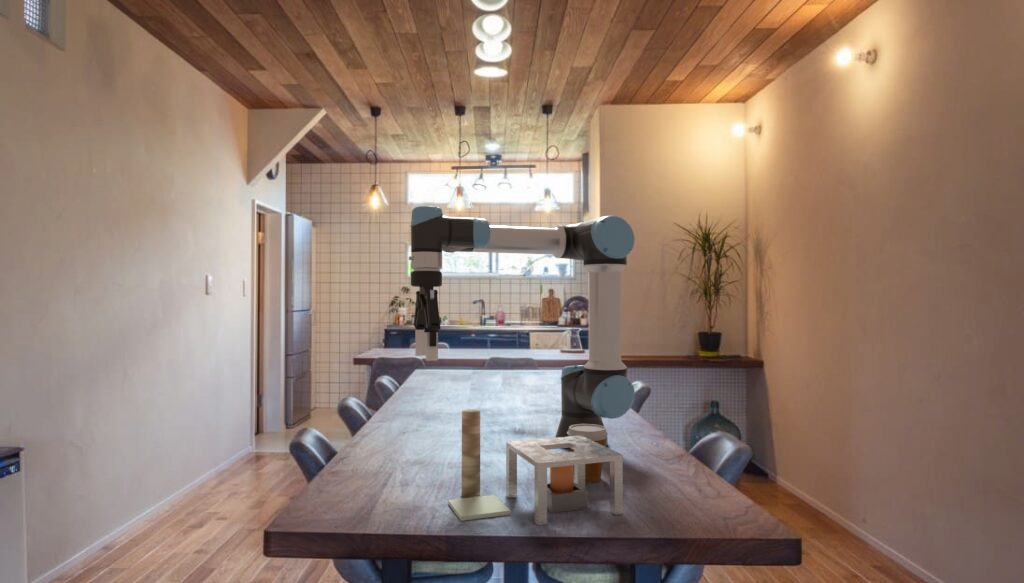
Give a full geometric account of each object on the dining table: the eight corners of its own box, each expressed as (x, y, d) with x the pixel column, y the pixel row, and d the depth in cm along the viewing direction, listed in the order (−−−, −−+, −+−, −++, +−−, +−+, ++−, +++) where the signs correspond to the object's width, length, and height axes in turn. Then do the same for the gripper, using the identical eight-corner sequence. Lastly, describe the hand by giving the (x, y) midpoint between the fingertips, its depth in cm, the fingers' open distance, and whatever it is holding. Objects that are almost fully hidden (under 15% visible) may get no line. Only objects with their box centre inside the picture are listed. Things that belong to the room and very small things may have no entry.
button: (567, 484, 126) (567, 456, 126) (577, 491, 121) (577, 462, 121) (546, 487, 124) (546, 458, 124) (556, 494, 120) (556, 464, 120)
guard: (581, 486, 134) (581, 435, 134) (622, 513, 117) (622, 454, 117) (506, 495, 128) (506, 441, 128) (538, 525, 111) (538, 463, 111)
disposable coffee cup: (610, 475, 143) (610, 425, 143) (603, 486, 134) (603, 433, 134) (572, 471, 146) (572, 422, 146) (562, 482, 137) (562, 430, 137)
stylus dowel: (477, 491, 131) (477, 409, 131) (482, 496, 127) (482, 412, 127) (459, 493, 130) (459, 410, 130) (464, 498, 126) (464, 413, 126)
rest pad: (494, 498, 126) (494, 494, 126) (510, 514, 117) (510, 510, 117) (448, 503, 123) (448, 500, 123) (460, 520, 113) (460, 516, 113)
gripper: (402, 272, 155) (402, 353, 155) (420, 267, 132) (420, 363, 132) (431, 272, 158) (431, 353, 158) (453, 268, 134) (453, 362, 134)
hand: (426, 358), depth 145 cm, fingers open, 13 cm apart
